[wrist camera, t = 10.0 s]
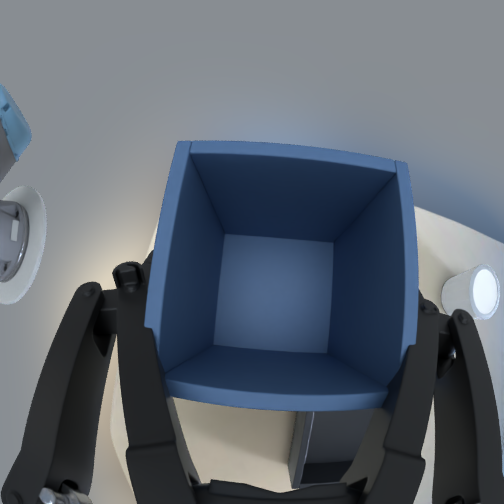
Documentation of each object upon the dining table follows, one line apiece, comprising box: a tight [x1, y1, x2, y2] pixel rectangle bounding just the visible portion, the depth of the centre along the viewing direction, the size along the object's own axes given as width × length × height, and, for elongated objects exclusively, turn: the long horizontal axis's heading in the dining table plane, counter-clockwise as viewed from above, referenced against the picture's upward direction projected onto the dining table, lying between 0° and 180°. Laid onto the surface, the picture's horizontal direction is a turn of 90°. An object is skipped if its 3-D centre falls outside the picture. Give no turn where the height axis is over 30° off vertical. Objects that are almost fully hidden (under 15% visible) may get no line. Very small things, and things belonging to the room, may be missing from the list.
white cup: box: [441, 264, 500, 320], centre depth 26 cm, size 7×7×7 cm
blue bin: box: [144, 141, 419, 411], centre depth 14 cm, size 9×9×11 cm
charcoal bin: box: [288, 408, 375, 489], centre depth 24 cm, size 14×14×6 cm
